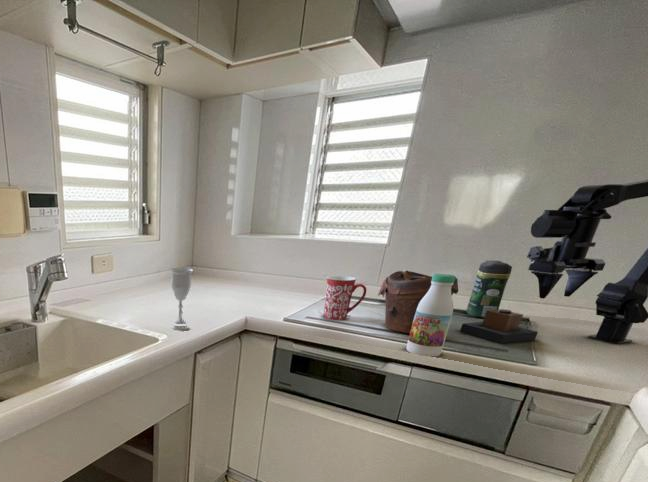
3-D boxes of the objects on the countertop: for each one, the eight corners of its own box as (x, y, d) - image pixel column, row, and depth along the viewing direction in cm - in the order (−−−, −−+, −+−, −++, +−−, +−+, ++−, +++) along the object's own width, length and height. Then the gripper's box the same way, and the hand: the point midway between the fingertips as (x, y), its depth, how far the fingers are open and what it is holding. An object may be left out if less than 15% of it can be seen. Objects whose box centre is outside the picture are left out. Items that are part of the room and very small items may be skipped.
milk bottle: (408, 345, 110) (427, 271, 102) (442, 351, 106) (465, 274, 98) (403, 353, 105) (423, 275, 97) (438, 359, 100) (462, 278, 92)
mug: (319, 318, 137) (325, 278, 132) (321, 313, 144) (328, 274, 139) (360, 323, 132) (368, 281, 126) (360, 317, 139) (368, 277, 134)
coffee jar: (462, 311, 146) (478, 258, 138) (489, 313, 143) (507, 259, 136) (469, 317, 137) (487, 262, 130) (498, 320, 135) (518, 263, 127)
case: (380, 318, 138) (392, 264, 131) (450, 329, 125) (468, 270, 118) (363, 328, 126) (375, 270, 119) (438, 342, 113) (457, 277, 106)
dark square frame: (491, 328, 125) (493, 320, 124) (534, 340, 114) (538, 331, 113) (460, 331, 123) (462, 323, 122) (501, 343, 112) (504, 335, 111)
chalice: (165, 325, 130) (166, 268, 123) (183, 323, 132) (185, 267, 125) (175, 331, 123) (176, 272, 116) (194, 329, 126) (197, 270, 119)
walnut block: (492, 332, 122) (500, 307, 119) (514, 338, 116) (524, 312, 113) (479, 333, 121) (487, 308, 118) (501, 339, 115) (510, 313, 112)
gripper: (567, 235, 114) (546, 290, 120) (517, 236, 110) (498, 293, 116) (617, 237, 104) (592, 297, 110) (565, 239, 100) (541, 301, 106)
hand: (554, 297), depth 111 cm, fingers open, 9 cm apart
